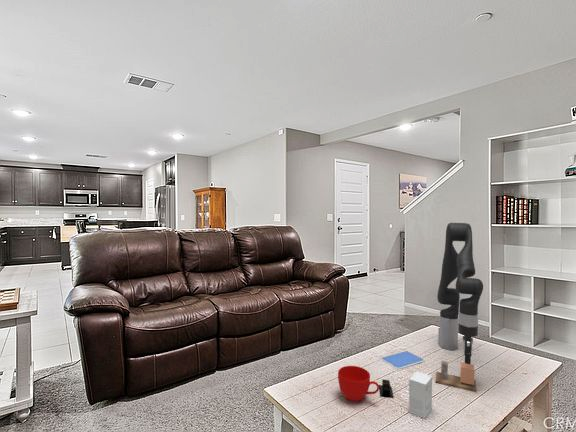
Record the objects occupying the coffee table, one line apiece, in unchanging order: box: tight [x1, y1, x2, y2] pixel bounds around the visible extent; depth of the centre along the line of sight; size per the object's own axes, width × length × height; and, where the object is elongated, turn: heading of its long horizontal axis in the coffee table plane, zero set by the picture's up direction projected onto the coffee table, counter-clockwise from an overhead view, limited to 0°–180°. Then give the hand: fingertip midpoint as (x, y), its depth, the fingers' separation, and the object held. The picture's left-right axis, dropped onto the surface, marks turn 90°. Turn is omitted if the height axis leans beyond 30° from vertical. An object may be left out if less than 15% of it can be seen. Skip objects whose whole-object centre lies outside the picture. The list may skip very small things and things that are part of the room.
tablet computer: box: [380, 350, 426, 371], centre depth 168 cm, size 19×13×1 cm, turn 117°
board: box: [434, 360, 478, 393], centre depth 146 cm, size 16×9×8 cm, turn 63°
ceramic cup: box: [337, 365, 380, 403], centre depth 134 cm, size 13×17×10 cm
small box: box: [408, 371, 433, 419], centre depth 126 cm, size 8×6×13 cm
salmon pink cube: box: [459, 362, 475, 385], centre depth 144 cm, size 5×5×7 cm
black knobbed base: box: [378, 379, 395, 399], centre depth 139 cm, size 12×7×5 cm, turn 168°
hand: (467, 359), depth 144 cm, fingers open, 8 cm apart
